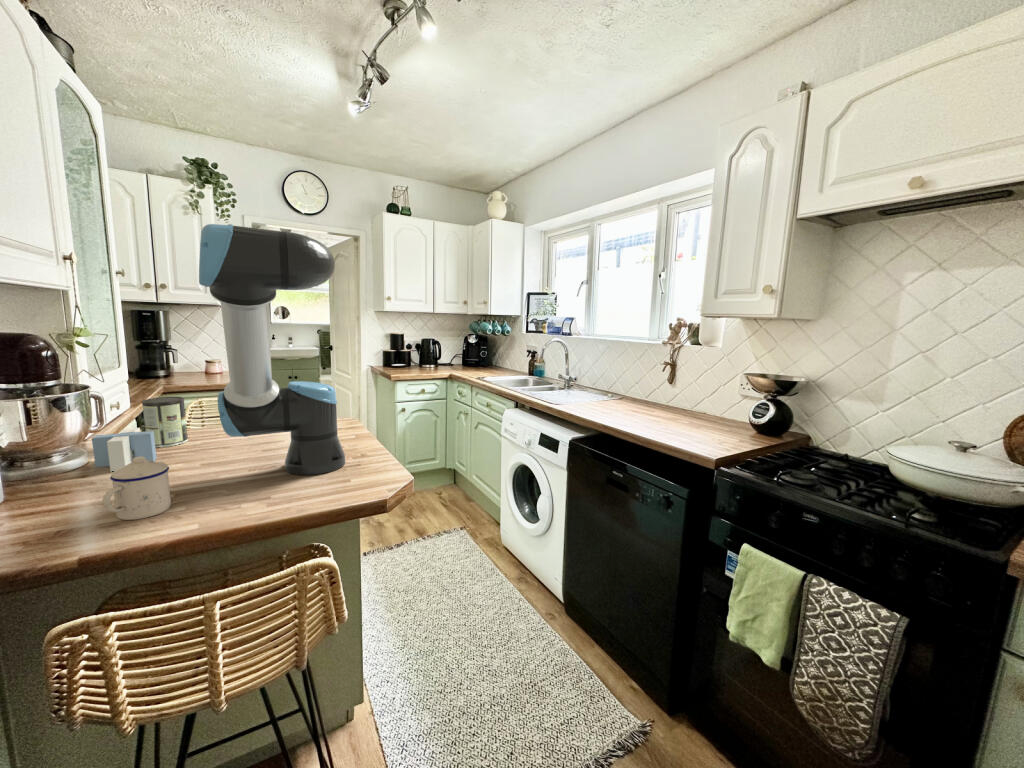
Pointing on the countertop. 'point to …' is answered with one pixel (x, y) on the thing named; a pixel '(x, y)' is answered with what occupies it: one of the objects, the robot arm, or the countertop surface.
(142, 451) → the light blue flat block
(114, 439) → the white notched slab
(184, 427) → the coffee can
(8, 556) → the countertop surface
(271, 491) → the countertop surface
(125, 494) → the teacup with lid
